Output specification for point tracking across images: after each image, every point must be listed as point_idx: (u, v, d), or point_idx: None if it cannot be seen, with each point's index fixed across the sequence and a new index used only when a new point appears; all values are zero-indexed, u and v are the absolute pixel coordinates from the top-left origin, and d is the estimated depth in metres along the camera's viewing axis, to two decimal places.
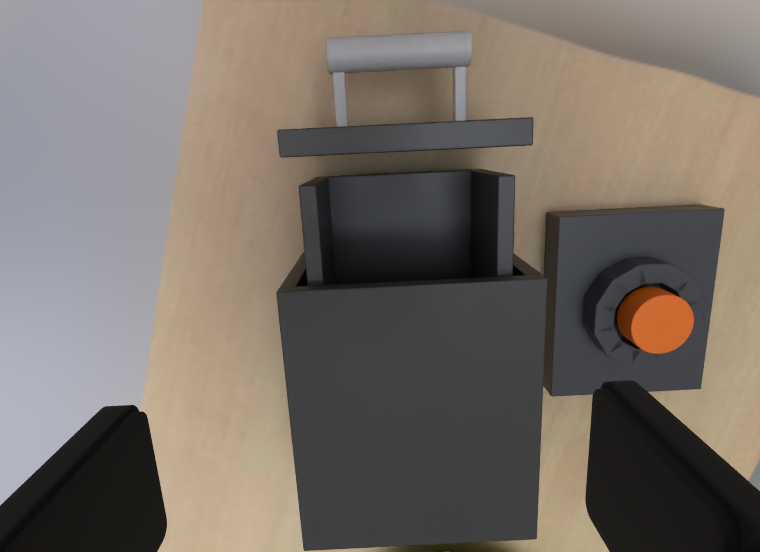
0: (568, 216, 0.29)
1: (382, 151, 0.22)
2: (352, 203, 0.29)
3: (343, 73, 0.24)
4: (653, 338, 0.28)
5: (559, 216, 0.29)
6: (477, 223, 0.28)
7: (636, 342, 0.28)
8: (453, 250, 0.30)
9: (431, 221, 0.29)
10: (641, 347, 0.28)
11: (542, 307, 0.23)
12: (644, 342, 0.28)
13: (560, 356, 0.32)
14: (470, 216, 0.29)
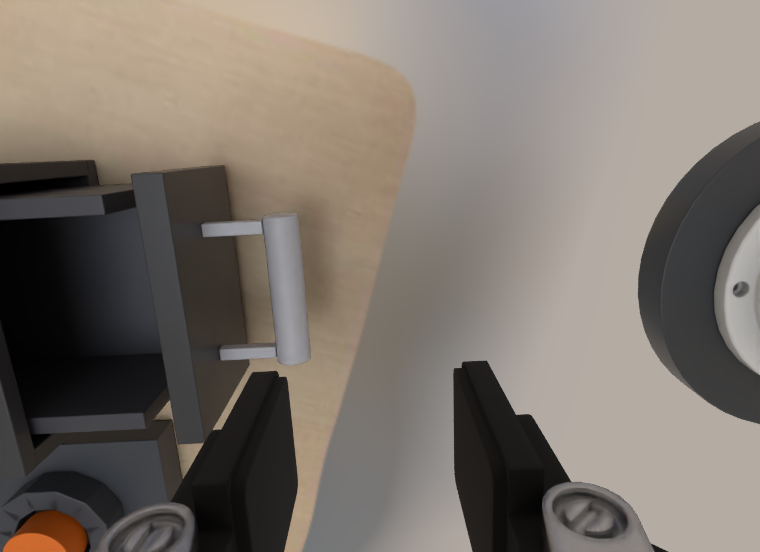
0: (158, 447, 0.28)
1: (152, 293, 0.19)
2: None
3: (261, 233, 0.22)
4: None
5: (158, 439, 0.28)
6: (127, 369, 0.25)
7: (11, 540, 0.26)
8: (106, 337, 0.27)
9: (136, 313, 0.26)
10: (6, 545, 0.26)
11: None
12: (12, 547, 0.26)
13: None
14: (146, 353, 0.27)
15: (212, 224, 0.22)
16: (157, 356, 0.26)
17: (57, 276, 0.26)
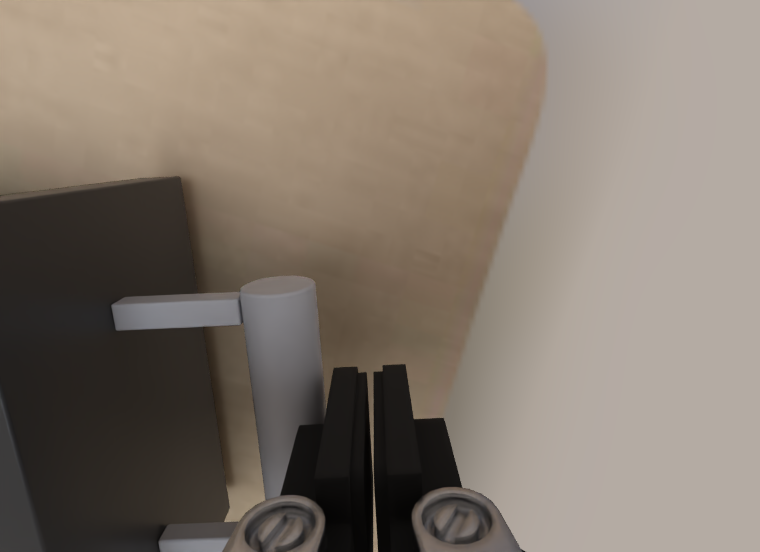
0: None
1: None
2: None
3: (238, 322, 0.10)
4: None
5: None
6: None
7: None
8: None
9: None
10: None
11: None
12: None
13: None
14: None
15: (134, 305, 0.10)
16: None
17: None
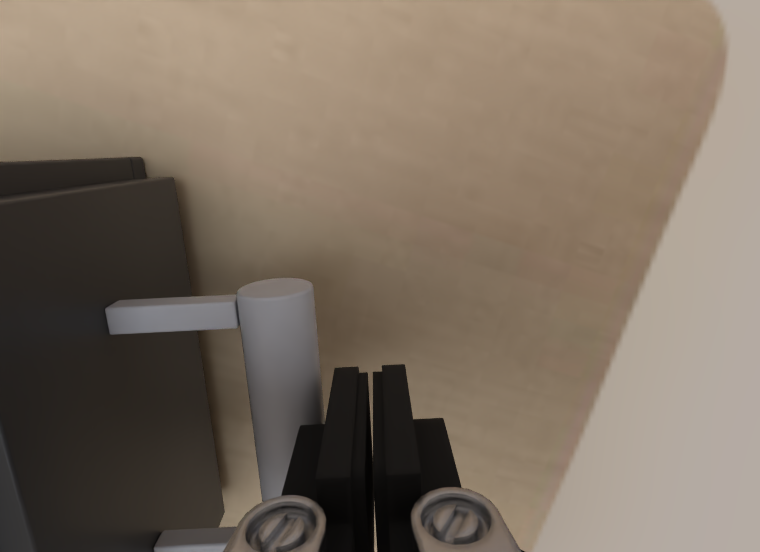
0: None
1: None
2: None
3: (235, 325, 0.10)
4: None
5: None
6: None
7: None
8: None
9: None
10: None
11: None
12: None
13: None
14: None
15: (129, 308, 0.10)
16: None
17: None
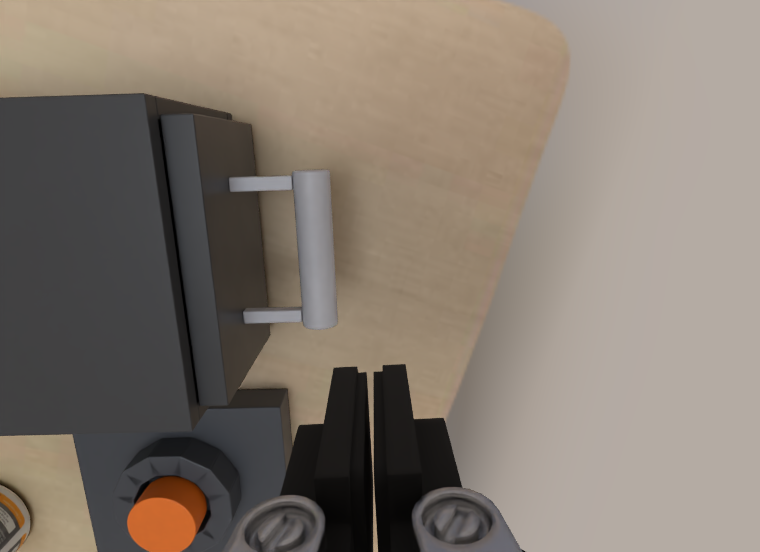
0: (281, 415, 0.27)
1: (178, 244, 0.18)
2: (168, 184, 0.24)
3: (291, 188, 0.21)
4: (144, 520, 0.25)
5: (280, 406, 0.27)
6: None
7: (138, 504, 0.25)
8: None
9: None
10: (132, 509, 0.25)
11: (156, 428, 0.19)
12: (139, 512, 0.25)
13: None
14: None
15: (240, 178, 0.21)
16: None
17: None
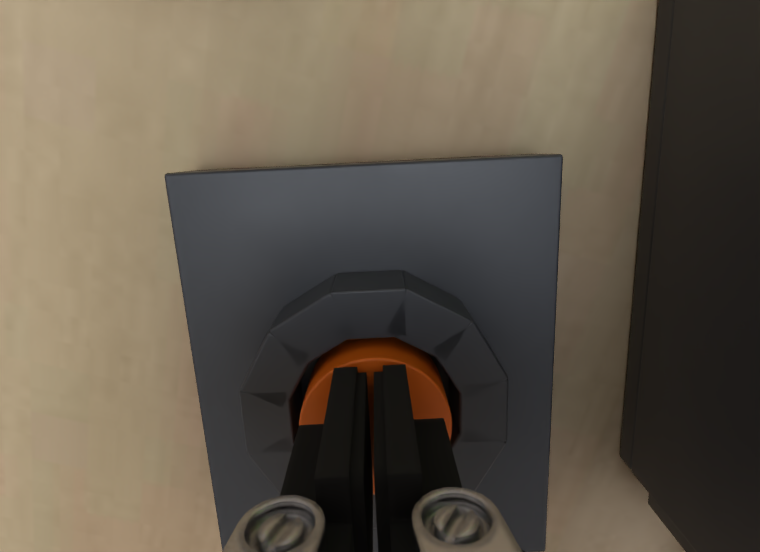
0: None
1: None
2: None
3: None
4: None
5: None
6: None
7: (435, 388, 0.11)
8: None
9: None
10: (421, 375, 0.11)
11: None
12: (415, 387, 0.11)
13: (539, 267, 0.13)
14: None
15: None
16: None
17: None
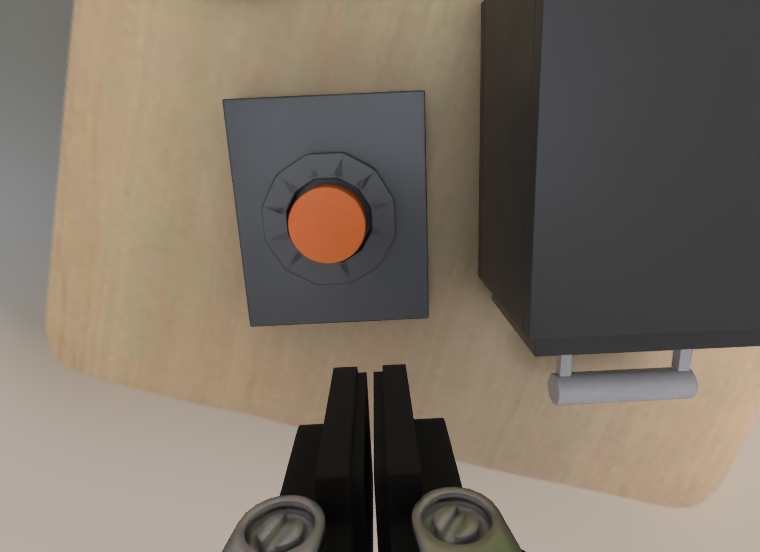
0: (418, 317, 0.27)
1: None
2: None
3: (678, 369, 0.25)
4: (335, 208, 0.22)
5: None
6: None
7: (356, 203, 0.22)
8: None
9: None
10: (348, 196, 0.22)
11: (535, 307, 0.19)
12: (346, 203, 0.22)
13: (416, 150, 0.25)
14: None
15: None
16: None
17: None
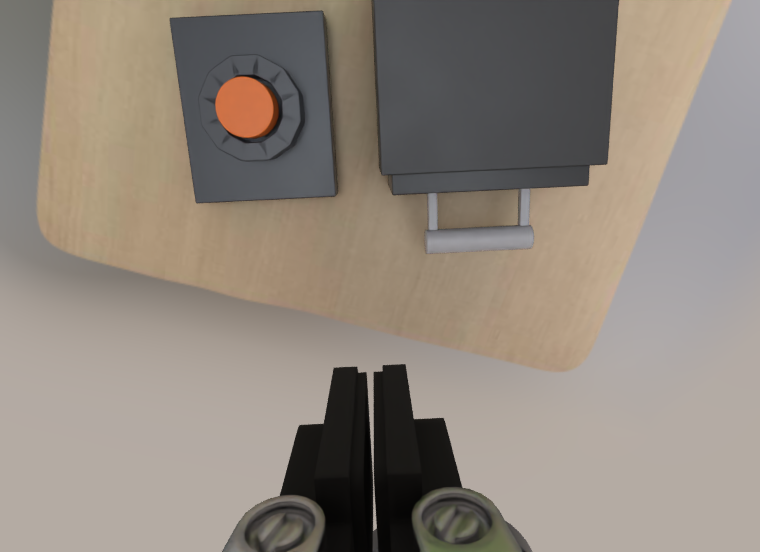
0: (327, 196, 0.35)
1: (509, 169, 0.28)
2: None
3: (520, 224, 0.32)
4: (250, 93, 0.30)
5: (334, 195, 0.35)
6: None
7: (265, 89, 0.30)
8: None
9: None
10: (259, 83, 0.30)
11: (383, 149, 0.27)
12: (257, 89, 0.30)
13: (318, 58, 0.32)
14: None
15: (529, 191, 0.31)
16: None
17: None
